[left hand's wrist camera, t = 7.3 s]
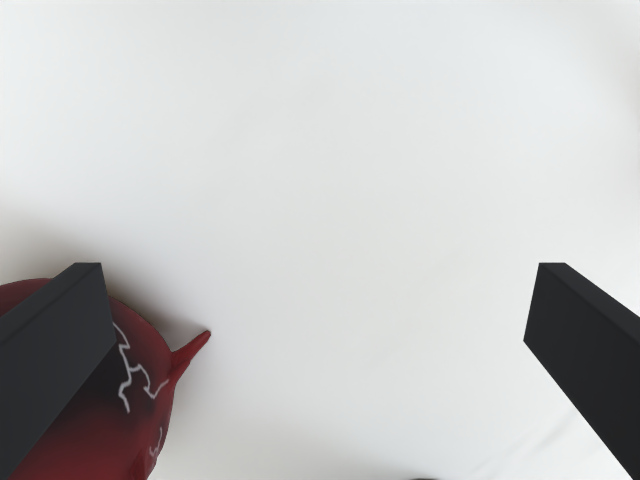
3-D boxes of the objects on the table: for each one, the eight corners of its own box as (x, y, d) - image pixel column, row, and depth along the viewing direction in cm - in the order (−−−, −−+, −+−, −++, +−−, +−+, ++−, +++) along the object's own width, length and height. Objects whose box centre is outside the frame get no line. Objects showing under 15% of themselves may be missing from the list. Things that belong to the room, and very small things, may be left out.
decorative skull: (47, 609, 40) (181, 571, 28) (-269, 547, 31) (-279, 450, 18) (134, 403, 56) (243, 323, 44) (-54, 322, 47) (18, 190, 35)
